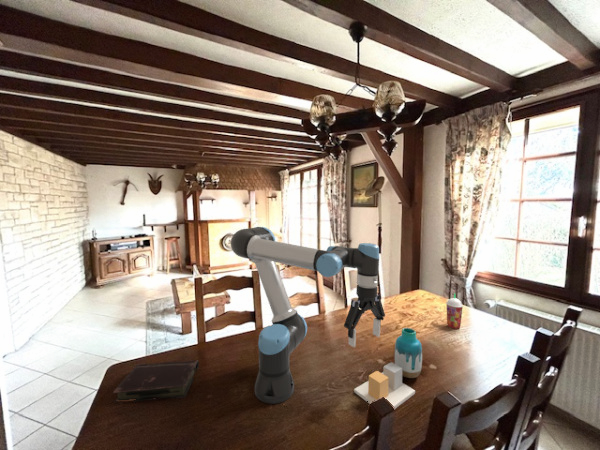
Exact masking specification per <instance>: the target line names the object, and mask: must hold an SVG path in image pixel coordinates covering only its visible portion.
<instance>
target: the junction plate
mask: <svg viewBox="0 0 600 450" xmlns="http://www.w3.org/2000/svg"><path fill="white" fill-rule="evenodd" d="M382 369H383V371H382V372H381V373H382V374H384V375H385V376H387V377H388V378H389V380H388V396H387V397H386V398H385V399H387V400H388V401H389V402H390V403H391V404H392V405H393V406H394V407H395V409H397V408H398V407H400V406H401V405H402V404H403V403H405V402H406V401H408V399H410V398H411V397H413V396H414V395H415V394H416V390H415V389H413V388H412V387H410V386H409V385H407V384H405V383H403V376H402V368H401V367H399V366H398V365H396V364H395V362H392V361H390V362H389V363H387V364H385V365H384V366H383V368H382ZM368 383H369V380H367V381H366V382H364V383H362V384H360V385H358V386H357V387H355V388H354V389H353V391H354V393H355V394H356V395H357V396H359V397H360V398H361V399H363V400H364V401H365V402H367V401H368V402H367V403H368V404H369V403H370V402H372V401H374V400H376V399H375V398H374V397H372V396H371V395H369V394H368Z"/></svg>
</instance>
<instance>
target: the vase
mask: <svg viewBox="0 0 600 450" xmlns="http://www.w3.org/2000/svg"><path fill="white" fill-rule="evenodd" d="M394 343H395V344H394V364H396V365H398V366H399V367H401V368H402V377H404V378H408V379H415V378H417V377H419V375H420V374H421V371H422V368H423V367H422V366H423V346H422V343H421V341H420V340H419V339H418V338H417V332H416V330H415V329H414V328H410V327H403V328H402V329H401V335H399V336H398V337H397V338H396V340H395V342H394Z"/></svg>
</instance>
